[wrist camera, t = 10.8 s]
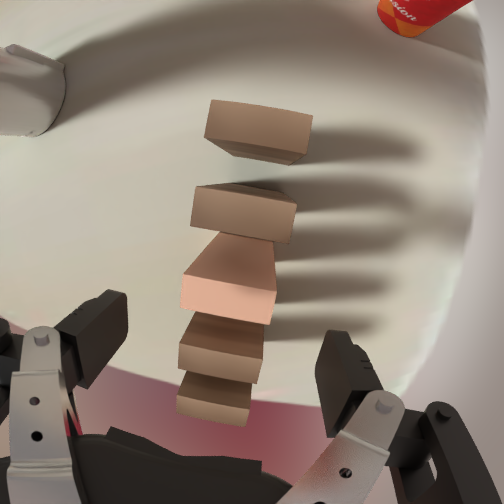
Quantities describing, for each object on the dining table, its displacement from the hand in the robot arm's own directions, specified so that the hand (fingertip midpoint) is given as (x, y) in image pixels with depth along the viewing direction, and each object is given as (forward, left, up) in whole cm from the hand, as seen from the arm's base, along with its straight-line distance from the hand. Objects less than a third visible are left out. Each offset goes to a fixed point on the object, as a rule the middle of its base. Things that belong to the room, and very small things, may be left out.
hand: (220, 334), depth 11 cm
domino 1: (-8, 0, -16) cm, 18 cm away
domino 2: (-4, 0, -16) cm, 17 cm away
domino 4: (+5, 0, -16) cm, 17 cm away
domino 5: (+10, 0, -16) cm, 19 cm away
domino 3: (+1, 0, -16) cm, 16 cm away
